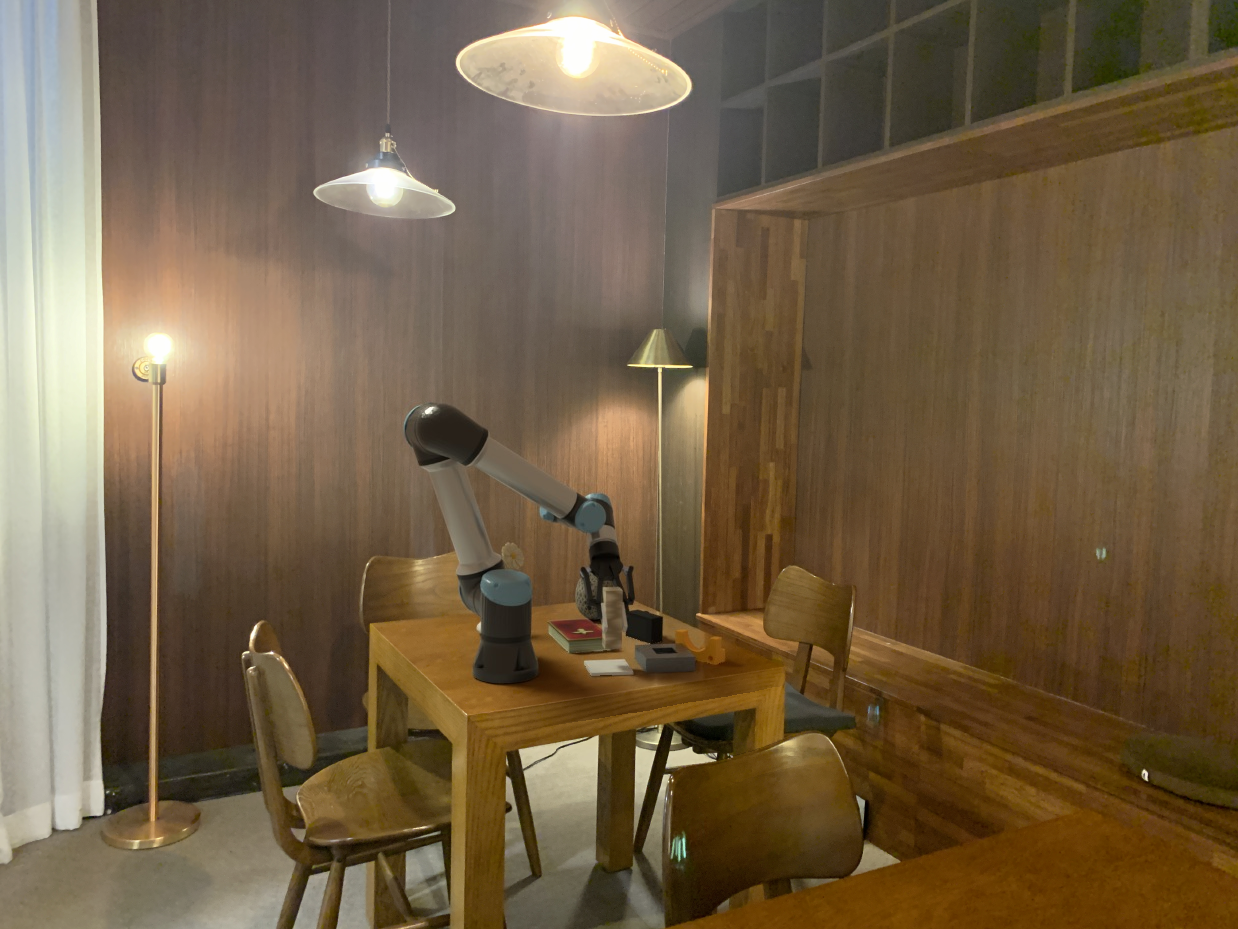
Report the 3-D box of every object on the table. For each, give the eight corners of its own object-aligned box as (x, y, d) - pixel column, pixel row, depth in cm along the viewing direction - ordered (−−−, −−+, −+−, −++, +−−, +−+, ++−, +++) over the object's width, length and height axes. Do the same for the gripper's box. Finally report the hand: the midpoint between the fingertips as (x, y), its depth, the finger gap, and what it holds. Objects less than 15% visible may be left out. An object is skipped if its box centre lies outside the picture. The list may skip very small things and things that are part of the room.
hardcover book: (588, 632, 249) (588, 617, 249) (613, 652, 230) (613, 636, 229) (546, 634, 246) (547, 619, 245) (568, 655, 226) (568, 639, 225)
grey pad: (590, 676, 207) (591, 673, 207) (584, 663, 217) (584, 660, 217) (633, 674, 209) (633, 671, 209) (624, 662, 219) (624, 659, 219)
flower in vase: (486, 641, 236) (487, 547, 234) (469, 631, 245) (470, 541, 243) (531, 635, 242) (532, 544, 241) (513, 626, 252) (514, 538, 250)
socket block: (645, 673, 211) (646, 658, 211) (634, 658, 222) (635, 644, 222) (694, 671, 213) (695, 656, 213) (681, 657, 225) (681, 643, 225)
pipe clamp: (724, 661, 222) (725, 636, 222) (715, 665, 219) (716, 639, 218) (684, 652, 230) (685, 627, 229) (675, 656, 226) (675, 631, 226)
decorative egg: (619, 616, 266) (620, 566, 265) (607, 626, 255) (608, 573, 254) (582, 613, 269) (583, 563, 268) (568, 622, 258) (569, 570, 257)
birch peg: (605, 649, 211) (605, 590, 210) (602, 644, 215) (602, 587, 214) (621, 648, 212) (622, 590, 211) (618, 644, 216) (619, 586, 215)
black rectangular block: (666, 641, 240) (666, 615, 239) (651, 644, 236) (651, 618, 236) (640, 633, 248) (640, 608, 247) (625, 636, 244) (626, 611, 244)
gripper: (634, 555, 229) (648, 636, 214) (567, 557, 225) (577, 639, 210) (639, 538, 223) (653, 619, 208) (571, 539, 220) (581, 622, 205)
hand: (615, 629), depth 209 cm, fingers closed on birch peg, 4 cm apart
